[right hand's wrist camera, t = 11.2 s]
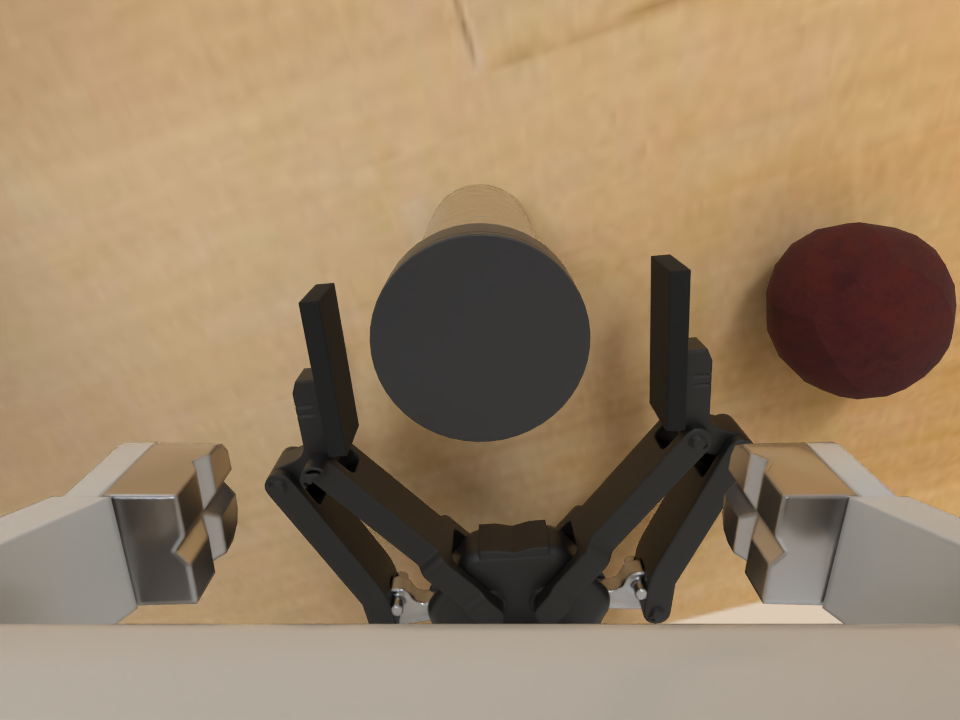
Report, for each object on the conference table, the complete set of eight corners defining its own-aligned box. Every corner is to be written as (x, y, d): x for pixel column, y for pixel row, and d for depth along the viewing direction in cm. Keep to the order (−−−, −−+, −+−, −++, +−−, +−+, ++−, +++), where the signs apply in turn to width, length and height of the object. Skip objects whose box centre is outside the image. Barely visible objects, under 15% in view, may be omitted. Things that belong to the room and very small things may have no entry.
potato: (799, 388, 33) (878, 456, 27) (707, 285, 31) (768, 331, 25) (925, 290, 31) (1043, 337, 25) (835, 174, 29) (937, 192, 23)
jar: (550, 238, 31) (608, 342, 17) (477, 304, 32) (476, 452, 18) (481, 162, 29) (483, 206, 16) (409, 234, 31) (350, 335, 17)
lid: (622, 327, 18) (635, 348, 16) (476, 449, 19) (476, 479, 18) (483, 176, 16) (484, 183, 15) (337, 320, 18) (323, 340, 16)
